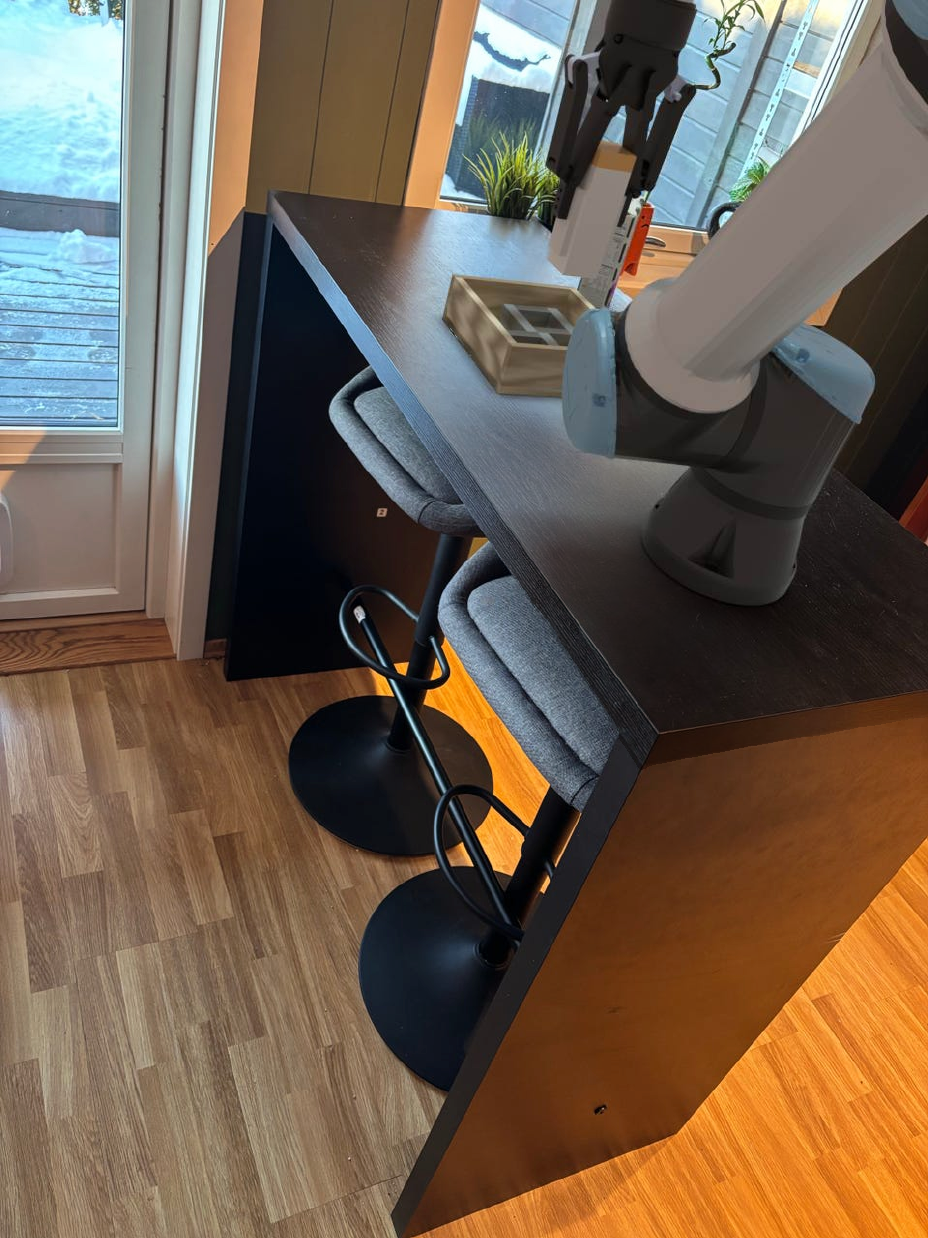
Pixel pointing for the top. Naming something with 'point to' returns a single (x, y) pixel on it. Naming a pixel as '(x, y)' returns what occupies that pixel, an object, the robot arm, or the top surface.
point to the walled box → (515, 330)
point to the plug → (596, 211)
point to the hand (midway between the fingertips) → (576, 253)
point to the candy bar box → (612, 261)
